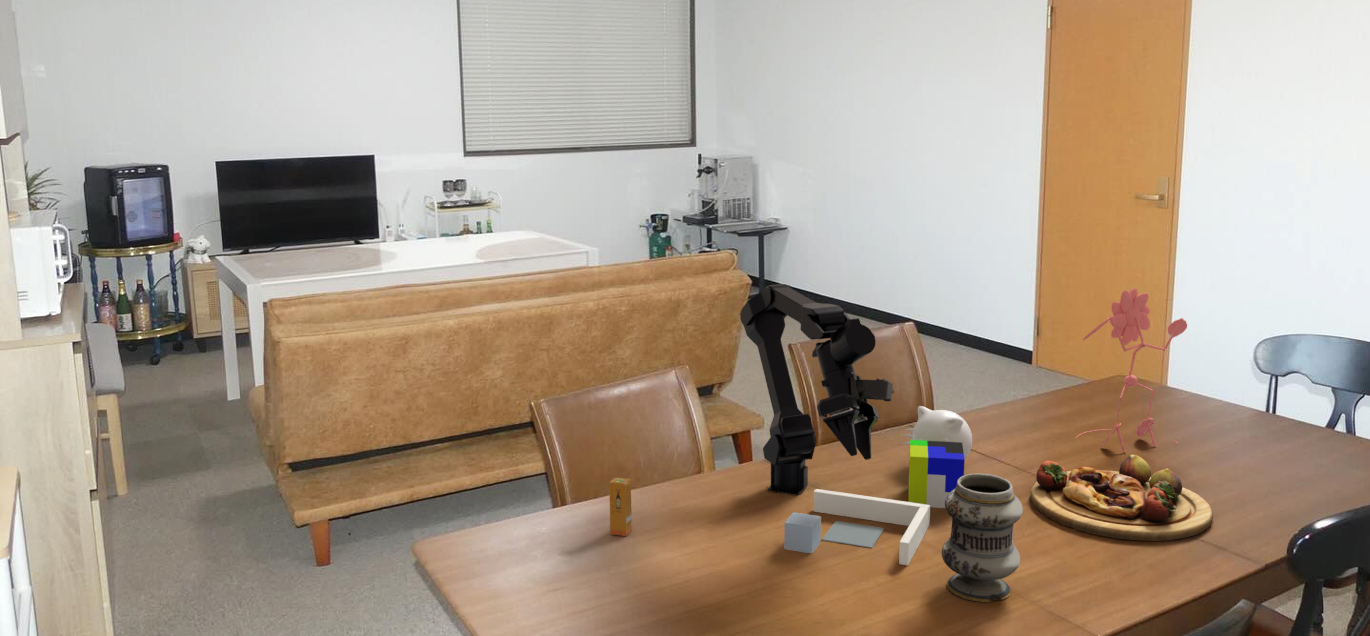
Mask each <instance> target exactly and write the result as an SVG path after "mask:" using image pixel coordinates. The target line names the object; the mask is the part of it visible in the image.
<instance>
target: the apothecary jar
mask: <svg viewBox="0 0 1370 636" xmlns="http://www.w3.org/2000/svg"><path fill="white" fill-rule="evenodd" d="M944 509H945V510H946V512H947V514H948V515H949V516H950V517H951V531H950V537H948V539H947V540H945V542H944V543H943V545H942V547H941V558H942V561H943V563H945V565H946V566H947V567H948V568H949V569H950V570H951V571H953V572H954V573H956V574H954V575H952V576H950V577H949V578H948V580H947V581H946V586H947V589H948V590H949V592H951V593H952V594H953V595H955V596H958V597H959V598H962V599H964V600H967V601H972V602H977V603H991V602H993V601H1003V600H1005V599H1007V598H1008V597H1010V595H1011V592H1012V591H1011V588H1010V585H1009V584H1008V583H1007V582H1006V581H1004V580H1003V579H1006V578H1007V577H1009V576H1010V575H1013V573H1015V572H1016V571H1017V569H1018V568H1019V567H1020V566H1019V565H1020V564H1021V555H1020V552H1019V550H1018V548H1017V547H1016V545H1014V525H1015V524H1016V522H1018V521H1019V520H1020V518H1021V517H1022V515H1023V512H1024V508H1023V504H1022V502H1021V501H1020V499H1019V497H1017V495H1015V494H1014V487H1013V484H1012V482H1011V481H1010V480H1008V479H1006V478H1004V477H1002V476H999V475H995V474H991V473H970V474H964V476H962V477H960V478H959V479H958V481H957V486H956V488H955V489H954V490H953V491H951V492H950V493H949V494H948V496H947V497H946V500H945V508H944Z"/></svg>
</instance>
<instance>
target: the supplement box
mask: <svg viewBox="0 0 1370 636" xmlns="http://www.w3.org/2000/svg"><path fill="white" fill-rule="evenodd" d="M631 481H632V480H631V478H623V477H614V478H612V479H611V480H610V481H609V483H608V487H609V494H608V495H609V534H610V535H611V536H623V537H627V536H628V535H630V533H631V532H633V518H632V516H633V515H632V513H633V512H632V486H631V485H632V484H631V483H632V482H631Z"/></svg>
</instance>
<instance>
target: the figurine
mask: <svg viewBox="0 0 1370 636" xmlns="http://www.w3.org/2000/svg"><path fill="white" fill-rule="evenodd" d="M1149 297H1150V296H1149V293H1147V292H1141V293H1139V294H1138V289H1137V288H1136V287H1134V288H1131V290H1129V291H1128V289H1123V291H1122V293H1121V296H1120V302H1119V301H1113V302H1112V303H1111V312H1112V314H1113V315H1110V316H1109V317H1107V318H1106V319H1105V320H1103V321H1102V322H1101V323H1100V324H1099V325H1097V326H1096V327H1095V328H1094V329H1093V330H1091V331H1090V332H1089V333H1088V334H1087V335H1086V336H1085V337H1084V338H1083V339H1082V341H1085V340H1087V339H1088V338H1089V337H1090V336H1092V335H1093V334H1095V333H1096V332H1097V331H1099V330H1100V329H1101V328H1102V327H1103V326H1104V325H1106V324H1107V323H1108V322H1109V323H1110V325H1111V326H1112V327H1113V329H1112V330H1111V334H1110V336H1111V338H1113V339H1118V341H1119V344H1120V345H1121V348H1122V350H1123V352H1124V353H1125V352H1127V351H1128V352H1129V351H1131V350H1133V349H1135V350H1133V352H1132V359H1131V364H1130V370H1129V374H1128V375H1127V376H1125V377H1124V379H1123V382H1124V385H1123V387H1122V391H1121V394H1120V396H1119V399H1118V405H1117V412H1116V413H1117V414H1116V420H1115V425H1114V426H1113V427H1114V429H1113V428H1103V429H1100V428H1099V431H1104V430H1105V431H1106V430H1109V431H1110V430H1112V429H1113V430H1112V431H1111V433H1110V434H1109V435H1108V436H1107V438H1105V440H1104V441H1103V442H1102V444H1101V445H1100V447H1102V446H1104V444H1105V443H1106V442H1107V441H1108V440H1109V439H1110V438H1111V437H1112V436H1113V434H1114V433H1115V432H1117V435H1118V438H1119V443H1120V445H1121V450H1122V453H1123V454H1125V453H1127V450H1126V448H1125V445H1124V444H1125V443H1124V440H1123V437H1122V435H1121V430H1120V427H1121V425H1122V423H1119V424H1118V422H1119V416H1120V409H1121V402H1122V397H1123V395H1124V392H1125V389H1126V387H1128V388H1135V387H1136V386H1140V387H1142V388H1144V389H1147V390H1148V391H1150V392H1151V393H1150V398H1149V404H1148V408H1147V416H1146V419H1144V420H1142V422H1140V424H1139V425H1138V426H1137V428H1136V430H1135V433H1136V435H1137V436H1138V437H1139V438H1142V437H1143V436H1145V434H1147V433H1148V432H1149V434H1150V436H1149V437H1150V439H1151V442H1152V445H1153V447H1154V448H1155V447H1157V443H1156V441H1155V438H1154V433H1153V431H1152V428H1153V426H1154V424H1155V421H1154V418H1151V417H1149V416H1150V412H1151V406H1152V401H1153V396H1154V390H1153V389H1152V388H1150V387H1148V386H1145V385H1144V384H1141V383H1139V381H1138V380H1139V379H1138V378H1137V377H1136V375H1133V373H1132V372H1133V368H1134V365H1135V364H1134V363H1135V359H1136V354H1137V353H1138V352H1139V351H1140V350H1141V349H1142V348H1145V347H1149V348H1153V349H1156V350H1161V351H1164V352H1165V351H1166V350H1167V348H1168V346H1170V344H1171V341H1172V339H1174V338H1175V337H1178V336H1179V335H1181V334H1183V333H1184V332H1185V331H1186V330H1187V329H1188V323H1187V321H1186V320H1185V319H1184V318H1183V317H1182V318H1179V319H1175V320H1174V321H1172V322H1171V323H1170V324H1169V326H1168V327H1167V333H1168V335H1169V336H1170V337H1169V339H1168V340H1167V341H1166V343H1165V345H1164V347H1160V346H1157V345H1153V344H1149V343H1146V341H1145V340H1144V336H1143V332H1142V331H1147V330H1149V328H1150V327H1151V322H1150V318H1149V316H1148V315H1149V314H1150V311H1151V309H1150V308H1149V306H1148V305H1147V303H1148V300H1149ZM1138 339H1140V342H1141V343H1138V344H1135V345H1131V346H1129V347H1125V346H1128V344H1130V343H1131V341H1132V342H1137V341H1138ZM1095 431H1097V429H1093V430H1089V429H1088V430H1086V431H1084V432H1083V433H1080V434H1078V435H1077V436H1076V435H1074V437H1075V438H1076V437H1079V436H1080V435H1083V434H1085V433H1089V432H1095ZM1074 437H1073V438H1074ZM1172 441H1173V442H1175V443H1177V444H1178V441H1175V440H1172Z"/></svg>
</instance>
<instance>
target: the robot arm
mask: <svg viewBox="0 0 1370 636" xmlns="http://www.w3.org/2000/svg"><path fill="white" fill-rule="evenodd" d="M739 316H740V318H739V319H740V322H741V324H742V326H743V328H744V331H745V334H746V336H747V337H748V338H749V340H751V342H753V344H755V346H756V347H757V349H758V354H759V357H760V362H761V366H762V370H763V371H762V372H763V374H764V378H765V379H764V380H765V383H766V387H767V391H768V394H769V399H770V404H771V408H772V412H773V417H772V420H771V424H770V427H769V437H770V438H768V440H767V441H766V443H765V444H764V445H763V448H762V452H763V458H764V459H765V460H766V461H768V462H769V463H770V485H769V486H768V487H767V491H768V492H773V493H779V494H786V495H793V496H798V495H800V494H801V493H802V492H803V491H804V490H805V489H806V487H808V485H809V483H808V478H809V477H808V476H809V475H808V474H809V473H808V472H809V471H808V470H809V469H808V468H809V467H808V465H806V460H813V457H814V452H815V449H816V443H817V437H816V431H815V430H814V427H813V423H812V418H811V416H810V414H808V413H803V411H801V410H800V409H799V407H798V404H797V400H796V396H795V391H794V388H793V384H792V380H791V375H790V372H789V371H790V370H789V368H788V364H787V360H786V355H785V351H784V347H783V343H782V337H783V334H784V331H785V328H786V321H785V319H786V317H787V316H788V317H790V318H791V319H793V320H794V321H796V322H798V323H799V324H800V331H801V332H802V333H803V335H805V337H807V338H808V339H809V340H811V341H813V340H823V339H828V340H825V341H822V342H821V341H820V342H816V343H815V347H814V349H813V350H812V355H811V356H812V358H817V360H818V363H819V366H820V371H821V375H822V379H823V380H820V382H821V386H822V388H825V389H826V393H827V397H826V398H822V399H820V400H819V401H818V403H817V405H816V409H817V414H818V416H819V417H820V418H822V422H823V423H825V424H826V426H827V428H829V429H830V431H831V432H832V433H833V435H834V436H835V437H836V438H837V440H838V441H839V442H840V444H841V446H843V448H844V449H845V450H846V452H847V453H848V454H849V456H850V457H854V456H857V455H858V452H859V454H860V455H861V456H862V458H863V459H864V460H865V461H867V460H870V459H872V429H873V427H874V426H875V424H876V423H877V422H878V420H879V418H880V415H879V412H878V411H879V410H878V408H877V406H874V405H872V404H870V403H869V400H873V401H874V400H878V401H880V400H881V401H884V402H892V400H893V399H892V398H893V394H894V393H895V390H894V389H893V383H892V382H891V381H888V379H886V378H883V379H882V378H879V377H878V378H876V379H862V377H861V376H860V375H858V374H857V373H856V371H855V368H854V364H856V363H857V362H859V361H860V360H862V359H863V358H864V357H866V356H867V355H869V354H870V353H872V352H873V350H874V349H875V347H876V337H875V333H873V331H872V330H871V329H870V328H869V327H868V326H866V325H865V324H862V323H861V320H860V318H859V317H857V318H850V316H848V315H847V313H846V312H845V310H844V309H843V308H842V307H841V305H837V304H832V303H820V302H816V301H814V300H812V299H810V298H809V297H807V296H805V295H803V294H802V293H800V292H798V291H796V290H794V289H793V288H792V286H791V285H789V284H786V283H781V284H779V283H778V284H771V285H767V286H765V287H763V288H762V290H761V292H759V293H758V294H755V296H753V297H750V298H749V299H748V300H747V301H746V303H744V306H743V307H742V308H741V310H740V314H739ZM828 415H829V417H828Z"/></svg>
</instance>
